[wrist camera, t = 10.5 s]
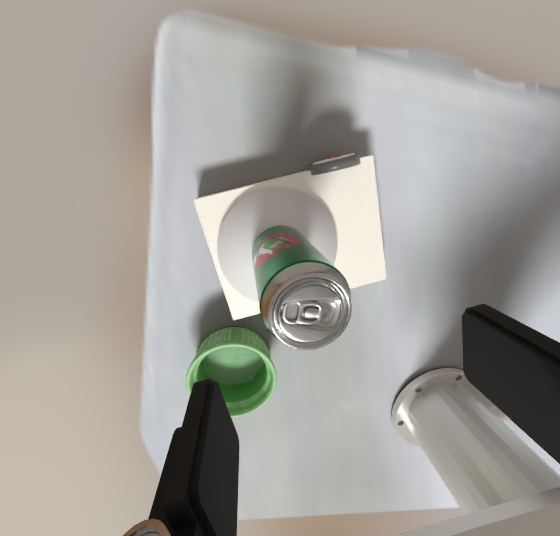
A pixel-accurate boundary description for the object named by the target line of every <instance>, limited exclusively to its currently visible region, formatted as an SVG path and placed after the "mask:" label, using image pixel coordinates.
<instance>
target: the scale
mask: <svg viewBox="0 0 560 536" xmlns="http://www.w3.org/2000/svg"><path fill="white" fill-rule="evenodd" d="M308 167H309V170H306V171H302V172H298V173H294V174H290V175H286V176H282V177H278V178H274V179H270V180H266V181H262V182H258V183H254V184H250V185H246V186H242V187H238V188H234V189H230V190H226V191H222V192H218V193H214V194H210V195H206V196H202V197H198V198H196V199H194V200H193V201H194V204H195V207H196V210H197V213H198V216H199V219H200V222H201V225H202V228H203V231H204V234H205V237H206V240H207V243H208V246H209V249H210V252H211V255H212V258H213V261H214V264H215V267H216V270H217V273H218V276H219V279H220V282H221V285H222V288H223V291H224V294H225V297H226V300H227V303H228V306H229V309H230V312H231V315H232V318H233V321H234V320H237V319H241V318H245V317H248V316H252V315H256V314H259V313H260V308H259V301H258V294H257V288H256V281H255V274H254V267H253V260H252V248H253V245H254V242H255V240H256V239H257V237H258V236H259V235H260V234H261V233H262V232H263V231H265V230H266V229H268V228H270V227H273V226H279V225H283V226H289V227H292V228H294V229H296V230H297V231H298V232H300V233H301V234H302V235H303V236H304V237H305V238H306V239H307V240H308V241H309V242H310V243H311V244H312V245H313V246H314V247H315V248H316V249H317V250H318V251H319V252H320V253H321V254H322V255H323V256H324V257H325V258H326V259H327V260H328V261H329V262H330V263H332V264H333V265H334V266H335V267H336V268H337V269H338V270H339V271H340V272H341V274H342V275H343V276H344V277H345V279H346V281H347V283H348V285H349V288H350V289H351V288H355V287H358V286H362V285H366V284H369V283H373V282H377V281H380V280H384V279H386V271H385V261H384V252H383V242H382V233H381V224H380V214H379V205H378V196H377V186H376V177H375V168H374V158H373V155H370V156H363V157H360V154H354V153H351V154H346V155H342V156H334V157H329V158H328V159H325V160H321V161H318V162H314V163H313V165H309V166H308Z"/></svg>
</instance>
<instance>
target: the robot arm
mask: <svg viewBox="0 0 560 536" xmlns="http://www.w3.org/2000/svg"><path fill="white" fill-rule="evenodd" d="M462 332H463V370H464V371H463V370H460V369H456V368H441V369H436V370H432V371H429V372H427V373H425V374H422V375H420V376H419V377H417V378H416V379H414V380H413V381H411V382H410V383H409V384H408V385H407V386H406V387H405V388H404V389H403V390H402V391H401V392H400V394H399V396H398V397H397V399H396V401H395V403H394V406H393V410H392V422H393V425H394V427H395V429H396V431H397V432H398V434H399V435H400V436H401V438H402V439H403V440H405V441H406V442H408V443H411V444H413V445H418V446H421V448H422V449H423V451H424V453H425V454H426V456H427V457H428V459H429V460H430V462H431V463H432V465H433V466H434V468H435V469H436V471H437V472H438V474H439V475H440V477H441V478H442V480H443V481H444V483H445V484H446V486H447V487H448V489H449V490H450V492H451V494H452V495H453V497H454V498H455V500H456V501H457V503H458V504H459V506H460V507H461V509H462V510H463V512H464V513H465V515H462V516H459V517H455V518H452V519H449V520H446V521H442V522H439V523H435V524H432V525H429V526H426V527H422V528H419V529H416V530H412V531H409V532H406V533H402V534H399V535H396V536H560V476H559V475H558V474H557V473H556V472H555V471H554V470H553V469H552V468H551V467H550V466H549V465H548V464H547V463H545V462H544V461H543V460H542V459H541V458H540V457H539V456H538V455H537V454H536V453H535V452H534V451H533V450H532V449H531V448H530V447H529V446H528V445H527V444H525V443H524V442H523V441H522V440H521V439H520V438H519V437H518V436H517V435H516V434H515V433H514V432H513V431H512V430H511V429H510V428H509V427H508V426H507V425H505V424H504V423H503V421H508V420H512V421H513V422H514V423H515V424H516V425H517V426H518V427H519V428H521V429H522V430H523V431H524V432H525V433H526V434H527V435H528V436H529V437H530V438H532V439H533V440H534V441H535V442H536V443H537V444H538V445H539V446H540V447H542V448H543V449H544V450H545V451H546V452H547V453H548V454H549V455H550V456H551V457H553V458H554V459H555V460H556V461H557V462H558V463H559V464H560V343H559V342H557V341H555V340H553V339H551V338H549V337H547V336H545V335H544V334H542V333H540V332H538V331H536V330H534V329H532V328H530V327H528V326H526V325H524V324H522V323H520V322H519V321H517V320H515V319H513V318H511V317H509V316H507V315H505V314H503V313H501V312H499V311H497V310H495V309H493V308H492V307H490V306H488V305H485V304H481V305H477V306H473V307H470V308H467V309H466V310H465V313H464V314H463V315H462ZM238 471H239V439H238V435H237V432H236V429H235V427H234V424H233V422H232V419H231V416H230V414H229V411H228V408H227V406H226V403H225V400H224V398H223V395H222V392H221V390H220V387H219V385H218V382H217V381H214V382H212V380H211V379H210V378H209V379H205V380H201V381H198V382H195V383H194V384H193V387H192V391H191V394H190V398H189V402H188V406H187V410H186V413H185V417H184V421H183V425H182V427H179V428H177V429H176V430H175V431H174V434H173V437H172V440H171V443H170V447H169V450H168V454H167V457H166V461H165V464H164V467H163V471H162V474H161V478H160V481H159V484H158V488H157V491H156V495H155V498H154V502H153V505H152V509H151V512H150V515H149V519H148V520H144V521H142V522H140V523H138V524H136V525H134V526H133V527H132V528H131V529H130V530H128V531H127V532H126V533H125V534H124V535H123V536H237V535H236V534H237V504H238Z"/></svg>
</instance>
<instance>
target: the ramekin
mask: <svg viewBox="0 0 560 536" xmlns="http://www.w3.org/2000/svg"><path fill="white" fill-rule="evenodd" d="M209 378H210V379H211V380H212V382H214V381H217V382H218V385H219V387H220V390H221V392H222V395H223V398H224V400H225V403H226V406H227V408H228V411H229V414H230V416H231V417H239V416H243V415H246V414H249V413H251V412H253V411H255V410H257V409H259V408H260V407H261V406H263V405H264V404H265V403H266V402H267V401H268V400H269V398H270V397H271V396H272V394H273V392H274V390H275V386H276V380H277V377H276V371H275V367H274V365H273V362H272V361H271V358H270V354H269V351H268V348H267V345H266V343H265V342H264V341H263V339H262V338H261V337H260V336H259V335H258V334H256V333H255V332H253V331H251V330H249V329H247V328H242V327H227V328H223V329H220V330H217V331H215V332H213V333H212V334H210V335H209V336H208V337H207V338H206V339H205V340H204V341H203V342H202V344H201V346H200V348H199V350H198V352H197V354H196V357H195V359H194V360H193V362H192V363H191V365H190V367H189V369H188V372H187V375H186V388H187V392H188V394H189V396H190V394H191V391H192V387H193V384H194V383H195V382H198V381H201V380H205V379H209Z"/></svg>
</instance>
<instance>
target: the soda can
mask: <svg viewBox="0 0 560 536" xmlns="http://www.w3.org/2000/svg"><path fill="white" fill-rule="evenodd" d="M252 260H253V267H254V274H255V281H256V288H257V294H258V301H259V308H260V315H261V318H262V321H263V323H264V325H265V327H266V328H267V329H268V331H269V332H270V333H271V334H272V335H274V336H275V337H276V338H278V339H279V340H280V341H281V342H282V343H284V344H285V345H287V346H289V347H291V348H294V349H298V350H313V349H318V348H321V347H324V346H326V345H328V344H330V343H331V342H333V341H334V340H335V339H337V338H338V337H339V336H340V335H341V334H342V333H343V331H344V330H345V328H346V327H347V325H348V322H349V320H350V316H351V293H350V288H349V285H348V283H347V281H346V279H345V277H344V276H343V275H342V274H341V272H340V271H339V270H338V269H337V268H336V267H335V266H334V265H333V264H332V263H330V262H329V261H328V260H327V259H326V258H325V257H324V256H323V255H322V254H321V253H320V252H319V251H318V250H317V249H316V248H315V247H314V246H313V245H312V244H311V243H310V242H309V241H308V240H307V239H306V238H305V237H304V236H303V235H302V234H301V233H300V232H298V231H297V230H296V229H294V228H292V227H289V226H283V225H279V226H273V227H270V228H268V229H266V230H265V231H263V232H262V233H261V234H260V235H259V236H258V237H257V239H256V240H255V242H254V245H253V248H252Z"/></svg>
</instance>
